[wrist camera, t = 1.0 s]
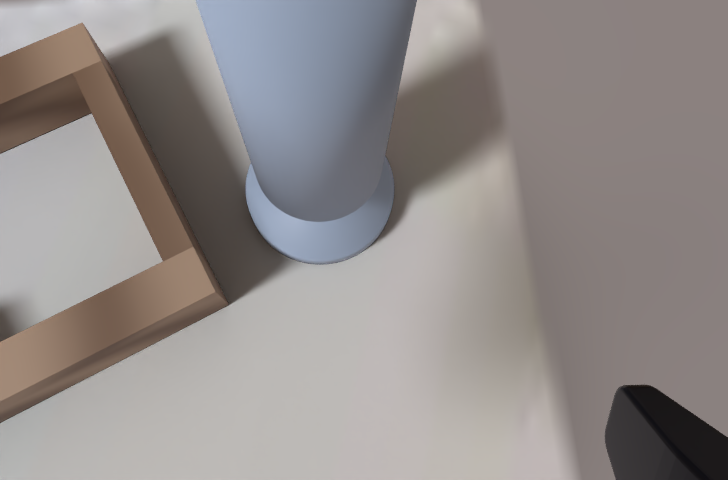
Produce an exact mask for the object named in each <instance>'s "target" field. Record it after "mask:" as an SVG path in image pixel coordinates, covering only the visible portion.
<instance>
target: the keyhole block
mask: <svg viewBox="0 0 728 480" xmlns="http://www.w3.org/2000/svg"><path fill="white" fill-rule="evenodd" d="M90 113H92V115H93V117H94V119H95V121H96V123H97V125H98V127H99V129H100V131H101V133H102V135H103V137H104V139H105V142H106V144H107V146H108V148H109V150H110V152H111V154H112V156H113V158H114V160H115V162H116V164H117V167H118V169H119V171H120V173H121V175H122V177H123V179H124V181H125V183H126V185H127V187H128V189H129V191H130V194H131V196H132V198H133V200H134V202H135V204H136V206H137V208H138V210H139V212H140V214H141V216H142V218H143V221H144V223H145V225H146V227H147V229H148V231H149V233H150V235H151V237H152V239H153V241H154V243H155V246H156V248H157V250H158V252H159V254H160V256H161V258H162V260H163V262H161V263H159V264H157V265H155V266H153V267H151V268H149V269H147V270H145V271H143V272H141V273H139V274H137V275H135V276H133V277H131V278H129V279H127V280H125V281H123V282H121V283H119V284H117V285H115V286H113V287H111V288H109V289H107V290H105V291H103V292H100V293H98V294H96V295H94V296H92V297H90V298H88V299H86V300H84V301H82V302H80V303H78V304H76V305H74V306H72V307H70V308H68V309H66V310H64V311H62V312H60V313H58V314H56V315H54V316H52V317H50V318H48V319H46V320H44V321H42V322H40V323H38V324H36V325H34V326H32V327H30V328H28V329H26V330H24V331H21V332H19V333H17V334H15V335H13V336H11V337H9V338H7V339H5V340H3V341H1V342H0V423H1V422H3V421H5V420H6V419H8V418H10V417H12V416H14V415H16V414H18V413H20V412H22V411H24V410H26V409H28V408H30V407H32V406H34V405H36V404H38V403H40V402H41V401H43V400H45V399H47V398H49V397H51V396H53V395H55V394H57V393H59V392H61V391H63V390H65V389H67V388H69V387H71V386H73V385H74V384H76V383H78V382H80V381H82V380H84V379H86V378H88V377H90V376H92V375H94V374H96V373H98V372H100V371H102V370H104V369H106V368H108V367H109V366H111V365H113V364H115V363H117V362H119V361H121V360H123V359H125V358H127V357H129V356H131V355H133V354H135V353H137V352H139V351H141V350H142V349H144V348H146V347H148V346H150V345H152V344H154V343H156V342H158V341H160V340H162V339H164V338H166V337H168V336H170V335H172V334H174V333H176V332H177V331H179V330H181V329H183V328H185V327H187V326H189V325H191V324H193V323H195V322H197V321H199V320H201V319H203V318H205V317H207V316H209V315H210V314H212V313H214V312H216V311H218V310H220V309H222V308H224V307H226V306H228V305H229V304H228V302H227V300H226V298H225V296H224V294H223V292H222V290H221V288H220V286H219V284H218V282H217V280H216V278H215V276H214V273H213V271H212V269H211V267H210V265H209V263H208V261H207V259H206V257H205V255H204V253H203V251H202V249H201V247H200V245H199V243H198V241H197V239H196V237H195V235H194V233H193V231H192V229H191V227H190V225H189V223H188V221H187V219H186V217H185V215H184V213H183V211H182V209H181V207H180V205H179V203H178V201H177V199H176V197H175V195H174V193H173V191H172V189H171V187H170V185H169V183H168V181H167V179H166V177H165V175H164V173H163V171H162V169H161V167H160V165H159V163H158V161H157V159H156V157H155V155H154V153H153V151H152V149H151V147H150V145H149V143H148V141H147V139H146V137H145V135H144V133H143V131H142V129H141V127H140V125H139V123H138V121H137V119H136V117H135V115H134V113H133V111H132V109H131V107H130V105H129V103H128V101H127V99H126V96H125V94H124V92H123V90H122V88H121V86H120V84H119V82H118V80H117V78H116V76H115V74H114V72H113V70H112V68H111V66H110V64H109V62H108V61H107V59H106V58H105V56H104V55H103V53H102V52H101V50H100V49H99V47H98V46H97V44H96V43H95V41H94V40H93V38H92V37H91V35H90V33H89V32H88V30H87V29H86V27H85V26H84V24H83V23H80V24H78V25H76V26H73V27H71V28H68V29H66V30H64V31H61V32H59V33H57V34H54V35H52V36H49V37H47V38H45V39H42V40H40V41H37V42H35V43H33V44H30V45H28V46H26V47H23V48H21V49H18V50H16V51H14V52H11V53H9V54H6V55H4V56H2V57H0V153H2V152H4V151H6V150H9V149H11V148H13V147H15V146H18V145H20V144H22V143H24V142H27V141H29V140H31V139H33V138H36V137H38V136H40V135H42V134H45V133H47V132H49V131H51V130H54V129H56V128H58V127H60V126H63V125H65V124H67V123H69V122H72V121H74V120H76V119H78V118H81V117H83V116H85V115H87V114H90Z"/></svg>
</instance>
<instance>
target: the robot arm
mask: <svg viewBox="0 0 728 480" xmlns="http://www.w3.org/2000/svg"><path fill="white" fill-rule="evenodd" d="M605 443H606V449H607V452H608V455H609V458H610V462H611V465H612V469H613V472H614V475H615V478H616V480H728V437H726V436H725V435H723V434H722V433H720V432H719V431H718V430H716V429H715V428H713V427H712V426H710V425H709V424H707V423H706V422H704V421H703V420H701V419H700V418H698V417H697V416H696V415H694V414H693V413H691V412H690V411H688V410H687V409H685V408H684V407H682V406H681V405H679V404H678V403H677V402H675V401H674V400H672V399H671V398H669V397H668V396H666V395H665V394H663V393H662V392H660V391H659V390H658V389H656V388H654V387H652V386H649V385H624V386H621V387H619V388H618V389H617V391H616V393H615V395H614V399H613V403H612V407H611V410H610V414H609V418H608V421H607V425H606V429H605Z"/></svg>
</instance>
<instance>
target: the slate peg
mask: <svg viewBox="0 0 728 480" xmlns="http://www.w3.org/2000/svg"><path fill="white" fill-rule="evenodd" d="M416 2H417V0H196V3H197V6H198V8H199V11H200V14H201V17H202V20H203V23H204V26H205V29H206V32H207V35H208V38H209V41H210V44H211V47H212V49H213V52H214V55H215V58H216V61H217V64H218V67H219V70H220V73H221V76H222V79H223V82H224V85H225V87H226V90H227V93H228V96H229V99H230V102H231V105H232V108H233V111H234V114H235V117H236V120H237V123H238V125H239V128H240V131H241V134H242V137H243V140H244V143H245V146H246V149H247V152H248V155H249V158H250V161H251V164H250V166H249V170H248V173H247V179H246V200H247V205H248V208H249V212H250V214H251V216H252V219H253V221H254V223H255V226H256V228H257V229H258V231H259V232H260V234H261V235H262V237H263V238H264V239H265V240H266V241H267V242H268V243H269V244H270V245H271V246H272V247H273V248H274V249H276V250H277V251H278V252H280V253H281V254H283V255H285V256H287V257H289V258H291V259H294V260H296V261H299V262H304V263H308V264H332V263H338V262H341V261H344V260H347V259H350V258H352V257H354V256H356V255H358V254H359V253H361V252H363V251H364V250H365V249H366V248H368V247H369V246H370V245H371V244H372V243H373V242H374V241H375V240H376V239H377V238H378V236H379V235H380V234H381V232H382V231H383V229H384V227H385V225H386V223H387V221H388V218H389V215H390V212H391V209H392V204H393V200H394V178H393V173H392V170H391V167H390V164H389V162H388V160H387V158H386V156H385V154H386V149H387V144H388V139H389V134H390V129H391V124H392V119H393V114H394V109H395V105H396V100H397V95H398V90H399V85H400V80H401V75H402V70H403V65H404V61H405V56H406V51H407V46H408V41H409V36H410V31H411V26H412V21H413V16H414V12H415V7H416Z"/></svg>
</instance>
